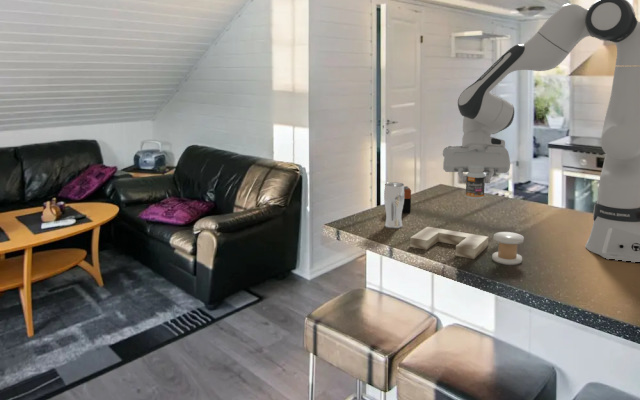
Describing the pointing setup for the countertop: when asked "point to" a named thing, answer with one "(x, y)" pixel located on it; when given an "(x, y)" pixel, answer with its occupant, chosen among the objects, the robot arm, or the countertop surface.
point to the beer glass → (394, 204)
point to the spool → (507, 248)
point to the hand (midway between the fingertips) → (475, 182)
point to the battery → (407, 200)
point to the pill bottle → (475, 182)
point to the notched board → (450, 241)
